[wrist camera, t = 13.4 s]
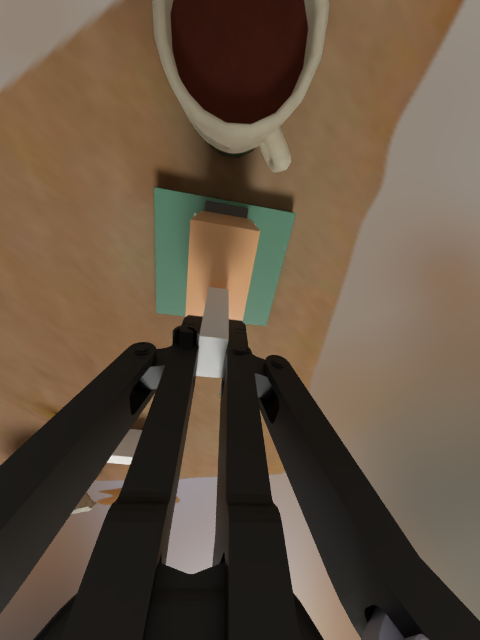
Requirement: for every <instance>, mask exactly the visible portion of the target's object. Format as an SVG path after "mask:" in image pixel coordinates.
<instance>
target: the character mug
mask: <svg viewBox="0 0 480 640" xmlns="http://www.w3.org/2000/svg"><path fill="white" fill-rule="evenodd" d="M152 8H153V25H154V38H155V41H156V45H157V49H158V52H159V56H160V59H161V63H162V67H163V69H164V72H165V74H166V76H167V78H168V81H169V83H170V85H171V87H172V89H173V91H174V93H175V95H176V97H177V99H178V100H179V102H180V104H181V106H182V108H183V110H184V112H185V113H186V115H187V117H188V119H189V121H190V122H191V124H192V125H193V126H194V128H195V129H196V131H197V132H198V133H199V134H200V135H201V136H202V138H203V139H204V140H205V141H206V142H208V143H209V145H210V146H211V147H212V148H214V149H215V150H216V151H218V152H219V153H220V154H222V155H225V156H231V157H240V156H242V155H245V154H247V153H249V152H252V151H253V150H254V149H255V148H256V147H258V146H259V148H260V150H261V153H262V155H263V157H264V159H265V161H266V164H267V166H268V168H269V169H270V170H271V171H272V172H274V173H276V172H281V171H284V170H287V168H288V167H289V165H290V164H291V154H290V151H289V148H288V145H287V143H286V140H285V137H284V135H283V132H282V130H281V127H280V126H281V125H282V124H283V123H284V122H285V120H286V119H287V118H288V117H289V116H290V115H291V113H292V112H293V111H294V110H295V109H296V108H297V107H298V105H299V104H300V103H301V102H302V100H303V98H304V96H305V94H306V91H307V89H308V87H309V85H310V83H311V80H312V78H313V76H314V74H315V71H316V69H317V67H318V65H319V62H320V60H321V58H322V52H323V46H324V40H325V34H326V27H327V21H328V15H329V9H330V5H329V0H152Z"/></svg>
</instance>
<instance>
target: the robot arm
mask: <svg viewBox="0 0 480 640" xmlns="http://www.w3.org/2000/svg"><path fill="white" fill-rule="evenodd" d="M222 375H223V377H222ZM196 376H204V377H215V378H222V384H221V389H220V395H221V404H220V430H219V455H218V481H217V506H216V534H215V544H214V555H213V567H210V568H208V569H205V570H203V571H200V572H198V573H195V574H187V573H184V572H182V571H179V570H177V569H174V568H171V567H169V566H166V565H165V564H166V557H167V550H168V542H169V536H170V529H171V523H172V518H173V512H174V506H175V500H176V493H177V487H178V481H179V476H180V470H181V464H182V458H183V452H184V446H185V440H186V434H187V428H188V422H189V416H190V410H191V404H192V398H193V392H194V386H195V377H196ZM155 392H156V393H155ZM154 394H155V396H154V398H153V401H152V404H151V407H150V410H149V413H148V416H147V418H146V421H145V424H144V427H143V430H142V433H141V436H140V438H139V441H138V444H137V447H136V450H135V453H134V455H133V458H132V461H131V464H130V467H129V470H128V473H127V475H126V478H125V481H124V484H123V487H122V490H121V492H120V495H119V497H118V499H117V500H116V501H115V502H114V503H113V504H112V505H111V507H110V509H109V510H108V513H107V515H106V518H105V520H104V522H103V525H102V528H101V531H100V533H99V536H98V539H97V541H96V544H95V547H94V549H93V552H92V555H91V558H90V560H89V563H88V566H87V569H86V571H85V574H84V577H83V579H82V582H81V585H80V587H79V590H78V593H77V594H76V595H75V596H73V597H72V598H71V599H70V600H69V601H68V602H67V603H66V604H65V605H64V606H63V607H62V608H61V609H60V610H59V611H58V612H57V613H56V615H54V617H53V618H52V619H51V620H50V621H49V622H48V624H46V626H45V627H44V628H43V629H42V630H41V632H39V634H38V635H37V636H36V637H35V638H34V640H324V639H323V638H322V636H321V635H320V633H319V631H318V629H317V628H316V626H315V625H314V623H313V622H312V620H311V618H310V616H309V615H308V614H307V612H306V610H305V608H304V607H303V606H302V604H301V602H300V601H299V600H298V598H297V597H296V596H295V595H294V593H293V590H292V584H291V578H290V571H289V565H288V559H287V552H286V546H285V540H284V533H283V527H282V521H281V517H280V513H279V510H278V508H277V506H276V505H275V504H274V503H273V501H272V496H271V489H270V482H269V474H268V467H267V460H266V452H265V445H264V438H263V431H262V423H261V416H260V411H261V413H262V416H263V418H264V420H265V423H266V425H267V428H268V430H269V433H270V435H271V437H272V440H273V442H274V445H275V447H276V449H277V452H278V454H279V457H280V459H281V462H282V464H283V466H284V469H285V471H286V474H287V476H288V478H289V481H290V483H291V486H292V488H293V491H294V493H295V495H296V498H297V500H298V503H299V505H300V507H301V510H302V512H303V515H304V517H305V520H306V522H307V524H308V527H309V529H310V532H311V534H312V536H313V539H314V541H315V544H316V546H317V549H318V551H319V553H320V556H321V558H322V561H323V563H324V565H325V568H326V570H327V573H328V575H329V577H330V580H331V582H332V584H333V586H334V589H335V591H336V593H337V595H338V597H339V600H340V602H341V603H342V605H343V607H344V609H345V611H346V613H347V615H348V617H349V618H350V620H351V622H352V624H353V626H354V627H355V629H356V631H357V632H358V634H359V636H360V637H361V640H480V621H479V620H478V619H477V618H476V617H475V616H474V615H473V613H472V612H471V611H469V609H468V608H467V607H466V606H465V605H464V604H463V603H462V602H461V601H460V600H459V599H458V597H457V596H456V595H455V594H454V593H453V592H452V591H451V590H450V589H449V588H448V587H447V586H446V585H445V584H444V583H443V582H442V580H441V579H440V578H439V577H438V576H437V575H436V574H435V573H434V572H433V571H432V570H431V569H430V568H429V567H428V566H427V565H426V564H425V562H424V561H423V560H422V559H421V558H420V557H419V555H418V554H417V552H416V551H415V550H414V548H413V547H412V545H411V544H410V542H409V541H408V539H407V538H406V536H405V535H404V533H403V532H402V530H401V529H400V527H399V526H398V524H397V523H396V521H395V520H394V518H393V517H392V516H391V514H390V512H389V511H388V509H387V508H386V507H385V505H384V503H383V502H382V501H381V499H380V497H379V496H378V494H377V493H376V491H375V490H374V489H373V487H372V486H371V484H370V482H369V481H368V479H367V478H366V477H365V475H364V474H363V472H362V471H361V469H360V468H359V466H358V465H357V463H356V462H355V460H354V459H353V457H352V456H351V454H350V453H349V451H348V450H347V448H346V447H345V445H344V444H343V442H342V441H341V439H340V438H339V436H338V435H337V433H336V432H335V430H334V429H333V427H332V426H331V424H330V423H329V422H328V420H327V419H326V417H325V415H324V414H323V412H322V411H321V409H320V408H319V407H318V405H317V404H316V402H315V401H314V399H313V398H312V396H311V395H310V393H309V392H308V390H307V389H306V387H305V386H304V384H303V383H302V381H301V380H300V378H299V377H298V375H297V374H296V372H295V371H294V369H293V368H292V366H291V365H290V363H289V362H288V361H287V360H286V359H285V358H283V357H281V356H278V355H270V356H268V357H267V358H266V360H265V359H262V358H259V357H256V356H255V355H253V354H252V352H251V349H250V348H249V347H248V341H247V333H246V325H245V324H244V323H243V321H239V320H231V319H229V289H221V288H214V287H209V289H208V294H207V299H206V304H205V309H204V314H203V317H202V316H194V315H188V316H186V317H185V318H184V320H183V323H182V326H178V327H176V328H175V329H174V330H173V344H172V346H170V347H167V348H163V349H156V347H155V346H154V345H153V344H151V343H147V342H139V343H135V344H133V345H131V346H130V347H128V348H127V349H126V350H125V351H124V352H123V353H122V354H121V355H120V356H119V357H118V358H117V359H115V360H114V361H113V362H112V363H111V364H110V365H109V366H108V367H107V368H106V369H105V370H104V371H102V372H101V373H100V374H99V375H98V376H97V377H96V378H95V379H94V380H93V381H92V382H91V383H89V384H88V385H87V386H86V387H85V388H84V389H83V390H82V391H81V392H80V393H79V394H77V395H76V396H75V397H74V398H73V399H72V400H71V401H70V402H69V403H68V404H67V405H66V406H64V407H63V408H62V409H61V410H60V411H59V412H58V413H57V414H56V415H55V416H54V417H53V418H51V419H50V420H49V421H48V422H47V423H46V424H45V425H44V426H43V427H42V428H41V429H40V430H38V431H37V432H36V433H35V434H34V435H33V436H32V437H31V438H30V439H29V440H28V441H27V442H25V443H24V444H23V445H22V446H21V447H20V448H19V449H18V450H17V451H16V452H15V453H14V454H12V455H11V456H10V457H9V458H8V459H7V460H6V461H5V462H4V463H3V464H2V465H0V613H1V612H2V611H3V609H4V608H5V607H6V605H7V604H8V603H9V601H10V600H11V599H12V597H13V596H14V595H15V593H16V592H17V591H18V589H19V588H20V586H21V585H22V584H23V582H24V581H25V580H26V578H27V577H28V575H29V574H30V572H31V571H32V569H33V568H34V566H35V565H36V564H37V562H38V561H39V559H40V558H41V557H42V555H43V554H44V552H45V551H46V549H47V548H48V546H49V545H50V544H51V542H52V541H53V539H54V538H55V536H56V535H57V533H58V532H59V531H60V529H61V527H62V526H63V525H64V523H65V522H66V520H67V519H68V518H69V516H70V515H71V513H72V512H73V510H74V509H75V507H76V506H77V505H78V503H79V502H80V500H81V499H82V497H83V496H84V495H85V493H86V492H87V490H88V489H89V487H90V486H91V484H92V483H93V482H94V480H95V479H96V477H97V476H98V474H99V473H100V471H101V470H102V469H103V467H104V466H105V464H106V463H107V461H108V460H109V458H110V457H111V456H112V454H113V453H114V451H115V450H116V448H117V447H118V445H119V444H120V443H121V441H122V440H123V438H124V437H125V435H126V434H127V433H128V431H129V430H130V428H131V427H132V425H133V424H134V422H135V421H136V420H137V418H138V417H139V415H140V414H141V412H142V411H143V409H144V408H145V407H146V405H147V404H148V402H149V401H150V399H151V398H152V396H153V395H154ZM259 408H260V409H259Z"/></svg>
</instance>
